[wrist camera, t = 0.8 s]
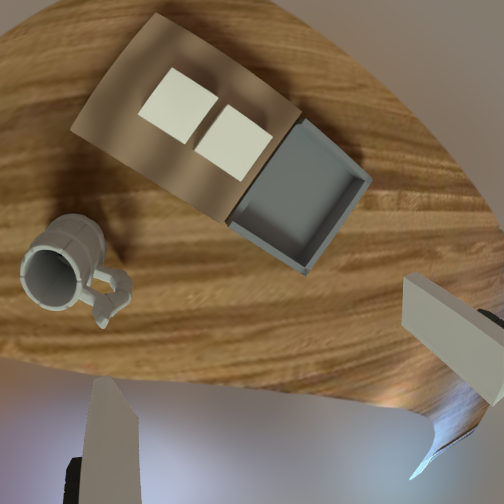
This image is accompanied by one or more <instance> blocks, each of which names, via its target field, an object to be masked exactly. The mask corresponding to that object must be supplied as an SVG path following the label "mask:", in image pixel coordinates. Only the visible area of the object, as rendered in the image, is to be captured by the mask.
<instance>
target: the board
mask: <svg viewBox="0 0 504 504" xmlns="http://www.w3.org/2000/svg"><path fill="white" fill-rule="evenodd" d="M171 68H174V69H175V70H177V71H178V72H180V73H182V74H183V75H185V76H186V77H188V78H189V79H191V80H193V81H194V82H196V83H197V84H199V85H200V86H202V87H203V88H205V89H206V90H208V91H209V92H211V93H212V94H214V95H215V96H217V97H218V100H217V101H216V102H215V103H214V105H213V106H212V107H211V109H210V110H209V111H208V113H207V114H206V116H205V117H204V118H203V120H202V121H201V122H200V124H199V125H198V127H197V128H196V129H195V131H194V132H193V134H192V135H191V136H190V138H189V139H188V141H187V142H186V144H183V143H181V142H180V141H178V140H177V139H175V138H174V137H172V136H170V135H169V134H167V133H166V132H164V131H163V130H161V129H159V128H158V127H156V126H155V125H153V124H151V123H150V122H148V121H147V120H145V119H143V118H142V117H140V116H139V115H138V113H139V111H140V110H141V109H142V107H143V106H144V104H145V103H146V101H147V100H148V99H149V97H150V96H151V94H152V93H153V92H154V90H155V89H156V88H157V86H158V85H159V84H160V82H161V81H162V80H163V78H164V77H165V76H166V75H167V73H168V72H169V71H170V69H171ZM226 105H230V106H231V107H233V108H234V109H236V110H237V111H238V112H240V113H241V114H243V115H244V116H245V117H247V118H248V119H250V120H251V121H252V122H254V123H255V124H256V125H258V126H259V127H260V128H262V129H263V130H264V131H266V132H267V133H268V134H270V135H271V136H272V137H273V138H272V139H271V140H270V142H269V143H268V144H267V146H266V147H265V149H264V150H263V151H262V153H261V154H260V156H259V157H258V158H257V160H256V161H255V163H254V164H253V165H252V167H251V168H250V170H249V171H248V172H247V174H246V175H245V177H244V178H243V180H242V181H239V180H237V179H235V178H234V177H232V176H231V175H230V174H228V173H227V172H225V171H224V170H222V169H221V168H219V167H218V166H216V165H215V164H213V163H212V162H210V161H209V160H207V159H206V158H204V157H203V156H201V155H200V154H198V153H197V152H195V151H194V150H193V149H194V147H195V146H196V145H197V143H198V142H199V140H200V139H201V137H202V136H203V135H204V133H205V132H206V130H207V129H208V128H209V126H210V125H211V124H212V122H213V121H214V119H215V118H216V117H217V115H218V114H219V113H220V111H221V110H222V109H223V107H225V106H226ZM301 113H302V111H301V110H299V109H298V108H297V107H296V106H295V105H293V104H292V103H291V102H290V101H288V100H287V99H286V98H285V97H283V96H282V95H281V94H279V93H278V92H277V91H276V90H274V89H273V88H272V87H270V86H269V85H268V84H266V83H265V82H264V81H262V80H261V79H260V78H258V77H257V76H255V75H254V74H253V73H251V72H250V71H249V70H247V69H246V68H244V67H243V66H241V65H240V64H239V63H237V62H236V61H234V60H233V59H231V58H230V57H228V56H227V55H225V54H224V53H222V52H221V51H219V50H218V49H216V48H215V47H213V46H212V45H210V44H209V43H207V42H205V41H204V40H202V39H201V38H199V37H197V36H196V35H194V34H193V33H191V32H189V31H188V30H186V29H184V28H183V27H181V26H179V25H177V24H176V23H174V22H172V21H170V20H169V19H167V18H165V17H163V16H162V15H160V14H158V13H155V14H154V15H153V16H152V17H151V18H150V19H149V21H148V22H147V23H146V24H145V25H144V26H143V27H142V28H141V30H140V31H139V32H138V33H137V34H136V36H135V37H134V38H133V39H132V40H131V42H130V43H129V44H128V45H127V47H126V48H125V49H124V50H123V52H122V53H121V54H120V55H119V57H118V58H117V59H116V61H115V62H114V63H113V65H112V66H111V67H110V69H109V70H108V71H107V73H106V74H105V76H104V77H103V78H102V80H101V81H100V83H99V84H98V86H97V87H96V89H95V90H94V92H93V93H92V95H91V96H90V98H89V99H88V101H87V102H86V104H85V105H84V107H83V108H82V110H81V112H80V113H79V115H78V117H77V118H76V120H75V122H74V123H73V125H72V127H71V128H70V131H72V132H73V133H75V134H77V135H78V136H80V137H82V138H83V139H85V140H86V141H88V142H90V143H91V144H93V145H95V146H96V147H98V148H99V149H101V150H103V151H104V152H106V153H108V154H109V155H111V156H112V157H114V158H116V159H117V160H119V161H120V162H122V163H124V164H125V165H127V166H129V167H130V168H132V169H133V170H135V171H137V172H138V173H140V174H141V175H143V176H145V177H146V178H148V179H149V180H151V181H153V182H154V183H156V184H157V185H159V186H161V187H162V188H164V189H166V190H167V191H169V192H170V193H172V194H174V195H175V196H177V197H178V198H180V199H182V200H183V201H185V202H186V203H188V204H190V205H191V206H193V207H194V208H196V209H198V210H199V211H201V212H202V213H204V214H205V215H207V216H209V217H210V218H212V219H213V220H215V221H217V222H218V223H220V224H221V225H222V224H223V223H224V221H225V220H226V218H227V217H228V215H229V214H230V212H231V211H232V209H233V208H234V206H235V205H236V204H237V202H238V201H239V199H240V198H241V196H242V195H243V193H244V192H245V191H246V189H247V188H248V186H249V185H250V183H251V182H252V181H253V179H254V178H255V176H256V175H257V174H258V172H259V171H260V169H261V168H262V166H263V165H264V164H265V162H266V161H267V159H268V158H269V157H270V155H271V154H272V152H273V151H274V150H275V148H276V147H277V146H278V144H279V143H280V141H281V140H282V139H283V137H284V136H285V134H286V133H287V132H288V130H289V129H290V128H291V126H292V125H293V124H294V122H295V121H296V119H297V118H298V117H299V115H300V114H301Z"/></svg>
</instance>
